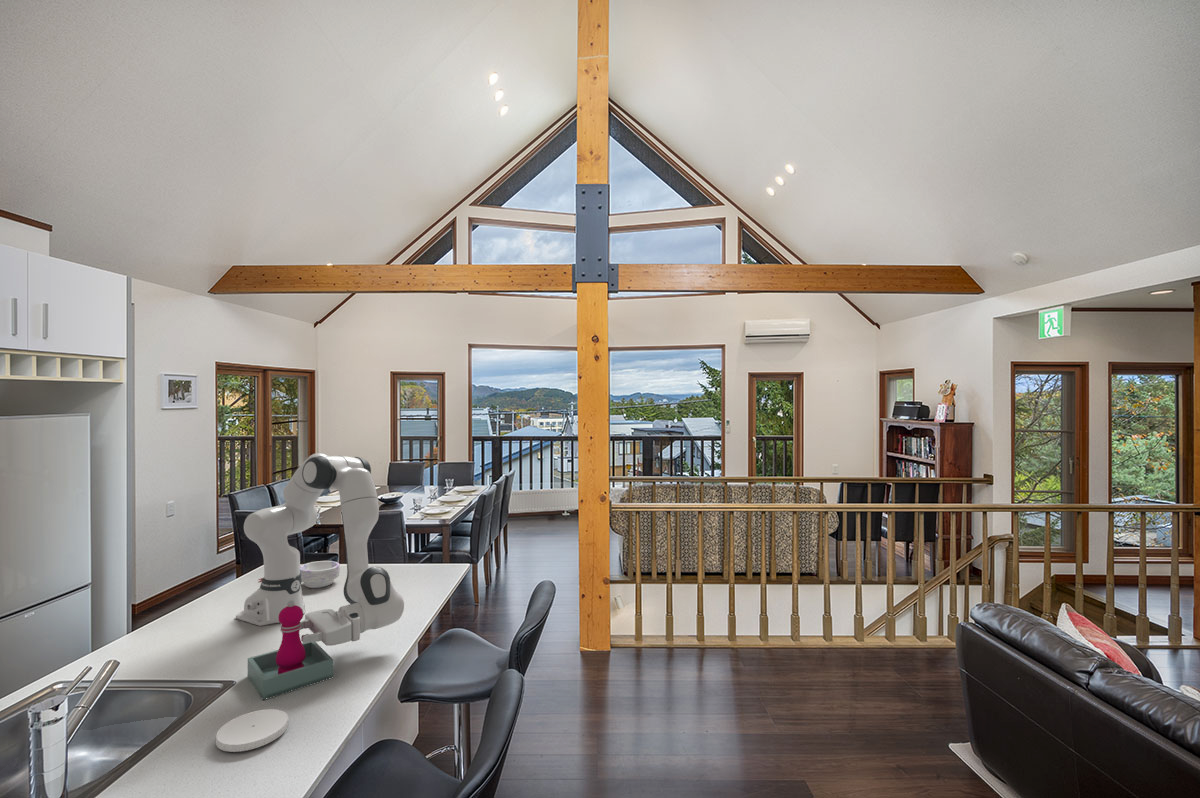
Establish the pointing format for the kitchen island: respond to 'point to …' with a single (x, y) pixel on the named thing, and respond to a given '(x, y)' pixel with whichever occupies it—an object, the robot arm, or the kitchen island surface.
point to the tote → (273, 684)
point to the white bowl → (319, 573)
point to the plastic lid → (252, 730)
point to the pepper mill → (290, 639)
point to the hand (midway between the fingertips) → (296, 634)
